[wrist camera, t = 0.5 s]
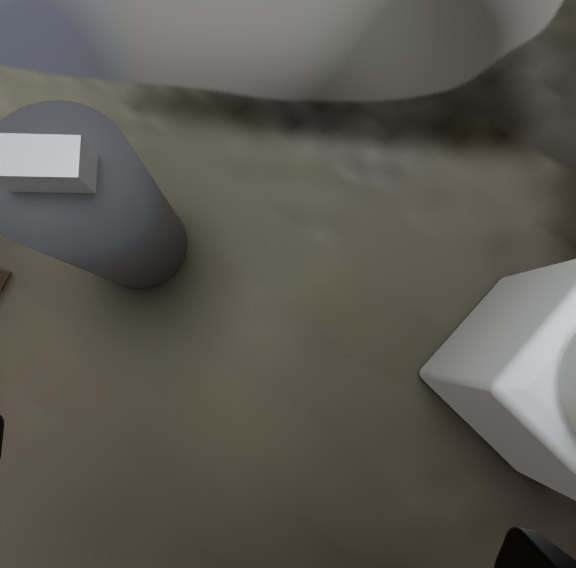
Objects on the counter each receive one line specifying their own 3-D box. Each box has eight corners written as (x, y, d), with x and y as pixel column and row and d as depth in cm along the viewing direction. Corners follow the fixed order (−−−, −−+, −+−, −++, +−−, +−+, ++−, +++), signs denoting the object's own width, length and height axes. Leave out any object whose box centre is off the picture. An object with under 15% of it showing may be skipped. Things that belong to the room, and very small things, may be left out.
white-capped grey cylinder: (185, 288, 21) (117, 239, 11) (92, 288, 21) (-68, 238, 11) (187, 200, 22) (125, 78, 11) (97, 199, 21) (-49, 72, 11)
